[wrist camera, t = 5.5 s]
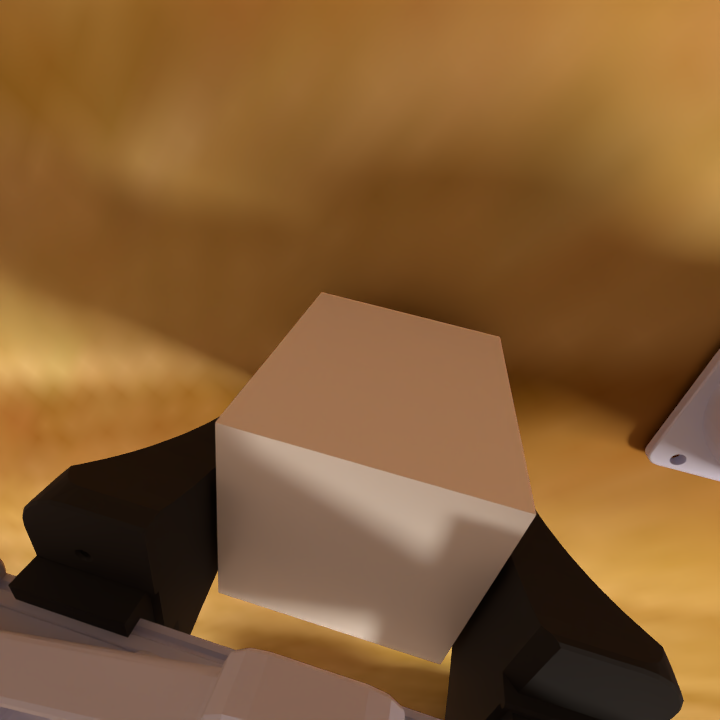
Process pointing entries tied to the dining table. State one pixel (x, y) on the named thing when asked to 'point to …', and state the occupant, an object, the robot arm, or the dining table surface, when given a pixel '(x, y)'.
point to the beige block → (372, 476)
